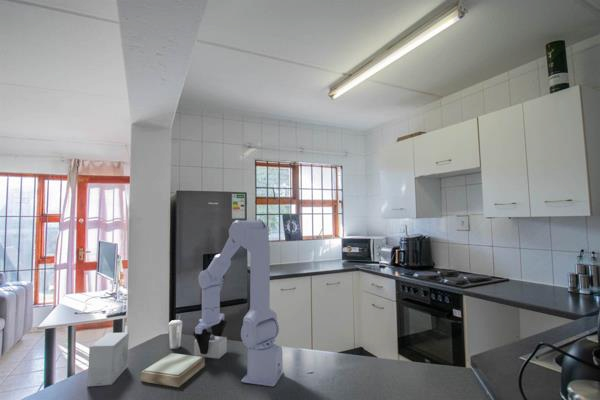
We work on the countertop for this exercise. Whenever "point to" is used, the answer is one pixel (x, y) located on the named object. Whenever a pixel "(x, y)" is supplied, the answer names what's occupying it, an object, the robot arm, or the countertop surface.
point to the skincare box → (107, 359)
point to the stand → (173, 369)
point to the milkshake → (175, 333)
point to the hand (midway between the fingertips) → (210, 348)
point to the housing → (213, 347)
